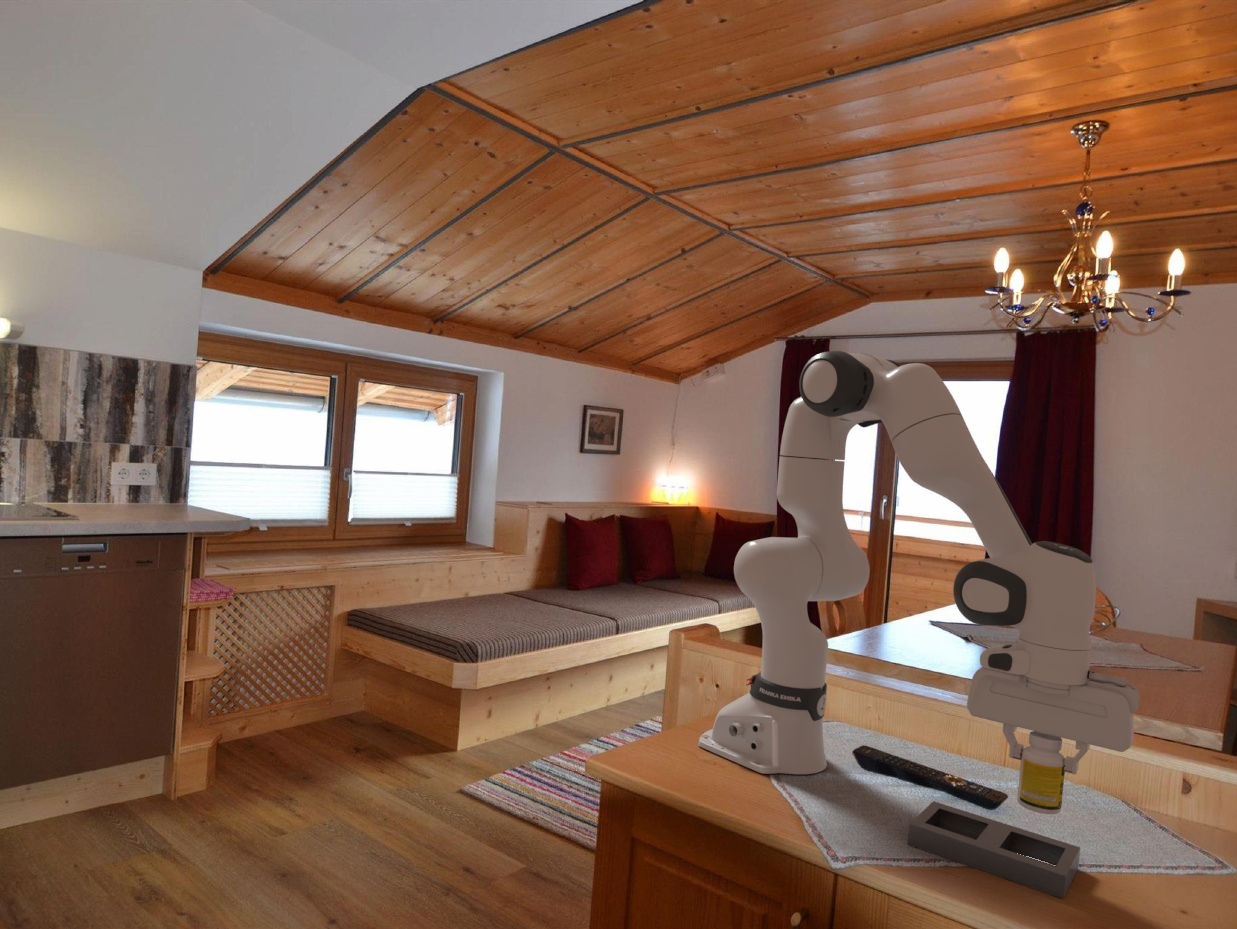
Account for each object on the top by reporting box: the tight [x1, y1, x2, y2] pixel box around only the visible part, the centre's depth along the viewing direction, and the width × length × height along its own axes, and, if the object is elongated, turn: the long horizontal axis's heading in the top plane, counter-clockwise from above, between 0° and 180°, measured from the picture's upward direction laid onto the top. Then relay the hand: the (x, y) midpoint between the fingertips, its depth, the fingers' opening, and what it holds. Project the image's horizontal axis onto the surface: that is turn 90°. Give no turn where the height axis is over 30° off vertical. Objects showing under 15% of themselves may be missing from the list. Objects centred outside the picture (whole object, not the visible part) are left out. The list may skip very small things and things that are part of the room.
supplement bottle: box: [1017, 730, 1066, 815], centre depth 118 cm, size 5×5×10 cm
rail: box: [907, 800, 1081, 900], centre depth 122 cm, size 20×11×3 cm, turn 54°
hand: (1042, 764), depth 118 cm, fingers closed on supplement bottle, 5 cm apart
